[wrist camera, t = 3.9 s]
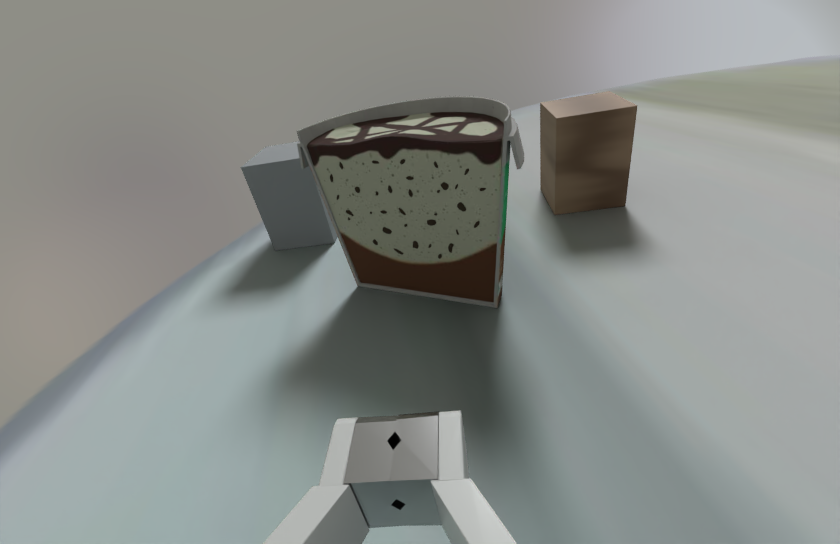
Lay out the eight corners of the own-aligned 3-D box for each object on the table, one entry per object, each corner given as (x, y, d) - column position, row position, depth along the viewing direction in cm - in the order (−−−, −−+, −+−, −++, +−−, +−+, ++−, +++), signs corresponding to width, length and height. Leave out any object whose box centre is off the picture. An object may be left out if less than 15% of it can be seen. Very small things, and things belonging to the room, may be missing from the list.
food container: (547, 252, 26) (549, 85, 21) (524, 312, 22) (519, 119, 16) (384, 237, 32) (351, 102, 26) (339, 283, 27) (289, 131, 22)
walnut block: (602, 181, 34) (609, 91, 30) (625, 206, 30) (637, 105, 26) (540, 189, 34) (540, 102, 31) (554, 215, 30) (556, 118, 26)
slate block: (346, 215, 36) (324, 137, 33) (334, 243, 32) (307, 156, 28) (293, 223, 37) (265, 146, 33) (275, 250, 33) (240, 167, 29)
